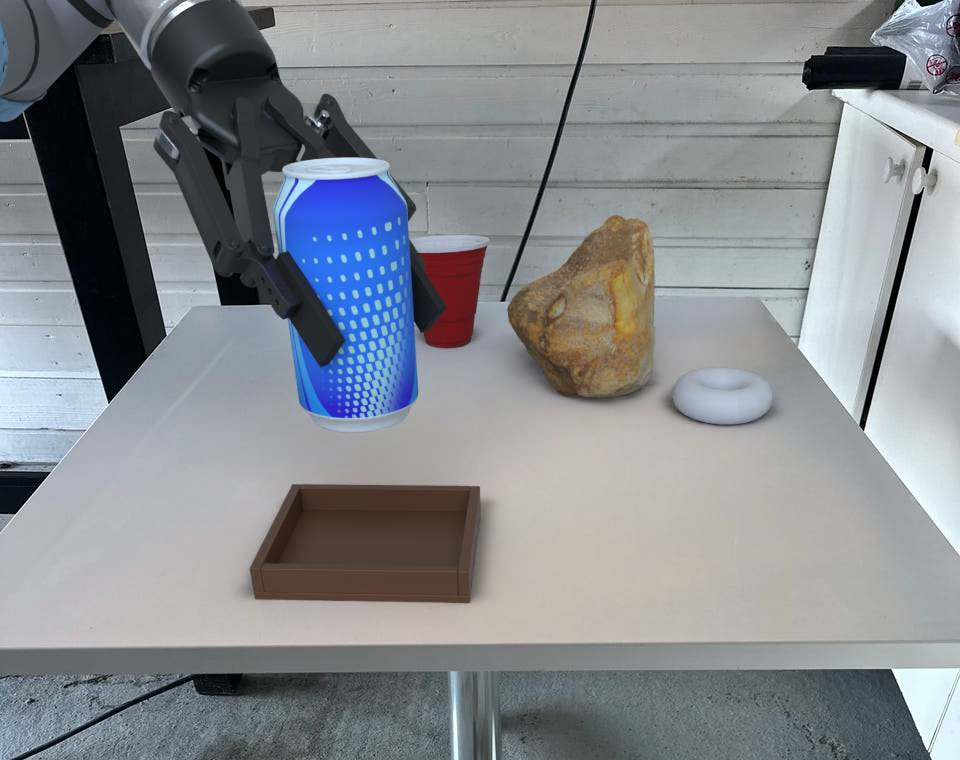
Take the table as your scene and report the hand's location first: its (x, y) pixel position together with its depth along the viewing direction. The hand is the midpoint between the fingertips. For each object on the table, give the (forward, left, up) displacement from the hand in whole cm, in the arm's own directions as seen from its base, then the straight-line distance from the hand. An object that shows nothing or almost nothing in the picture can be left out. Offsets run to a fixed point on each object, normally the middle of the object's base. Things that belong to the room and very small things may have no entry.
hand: (385, 336), depth 61 cm
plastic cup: (-1, +54, -18) cm, 57 cm away
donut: (+29, +31, -17) cm, 46 cm away
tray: (-2, +1, -17) cm, 17 cm away
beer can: (-3, +2, -6) cm, 7 cm away
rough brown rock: (+15, +43, -17) cm, 49 cm away
